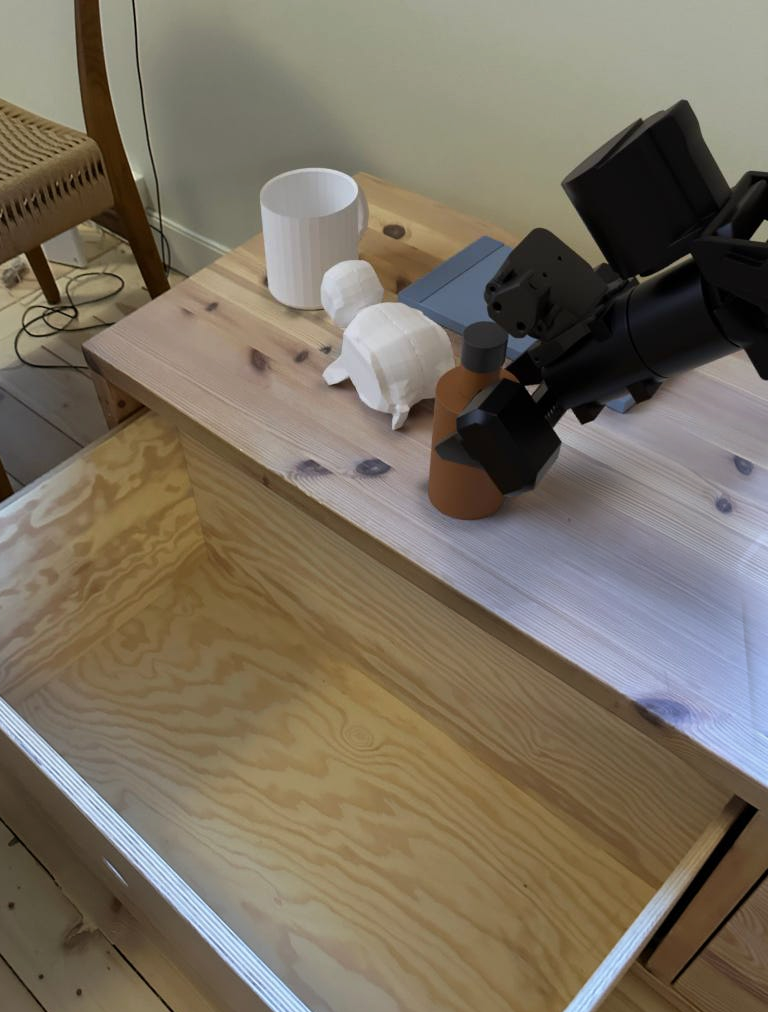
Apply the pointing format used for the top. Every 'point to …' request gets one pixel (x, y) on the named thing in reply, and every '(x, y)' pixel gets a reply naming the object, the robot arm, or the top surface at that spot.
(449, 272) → the blue slab
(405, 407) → the white turtle figurine
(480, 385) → the brown bottle
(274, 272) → the mug
